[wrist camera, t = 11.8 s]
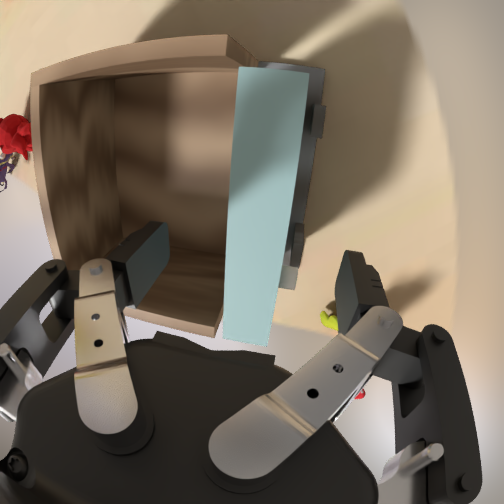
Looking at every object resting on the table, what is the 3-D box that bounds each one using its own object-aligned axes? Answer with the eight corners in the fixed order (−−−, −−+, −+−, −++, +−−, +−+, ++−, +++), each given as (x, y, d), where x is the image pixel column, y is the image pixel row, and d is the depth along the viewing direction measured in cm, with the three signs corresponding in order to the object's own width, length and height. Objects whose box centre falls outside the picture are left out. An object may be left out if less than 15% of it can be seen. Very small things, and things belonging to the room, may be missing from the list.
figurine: (-3, 167, 29) (26, 89, 23) (27, 197, 33) (61, 122, 26) (-28, 187, 24) (-7, 102, 18) (4, 220, 28) (31, 139, 22)
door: (269, 83, 20) (238, 66, 10) (319, 90, 20) (337, 78, 10) (252, 249, 29) (222, 338, 18) (293, 256, 28) (284, 349, 18)
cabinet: (113, 70, 22) (31, 73, 12) (325, 70, 20) (344, 45, 10) (121, 240, 32) (66, 296, 22) (294, 269, 30) (287, 351, 20)
